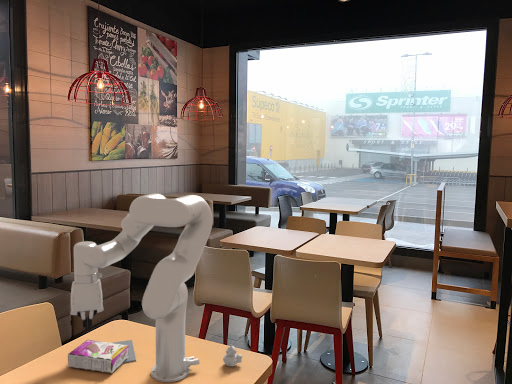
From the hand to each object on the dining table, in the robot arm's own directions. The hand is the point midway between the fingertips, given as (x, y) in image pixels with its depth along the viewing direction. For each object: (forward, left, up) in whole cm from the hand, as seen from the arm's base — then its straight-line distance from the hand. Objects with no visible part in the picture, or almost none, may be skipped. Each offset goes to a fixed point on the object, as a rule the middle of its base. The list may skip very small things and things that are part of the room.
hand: (87, 328), depth 149 cm
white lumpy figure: (-46, +21, -11) cm, 52 cm away
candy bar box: (+4, +1, -8) cm, 8 cm away
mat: (-7, 0, -11) cm, 13 cm away
